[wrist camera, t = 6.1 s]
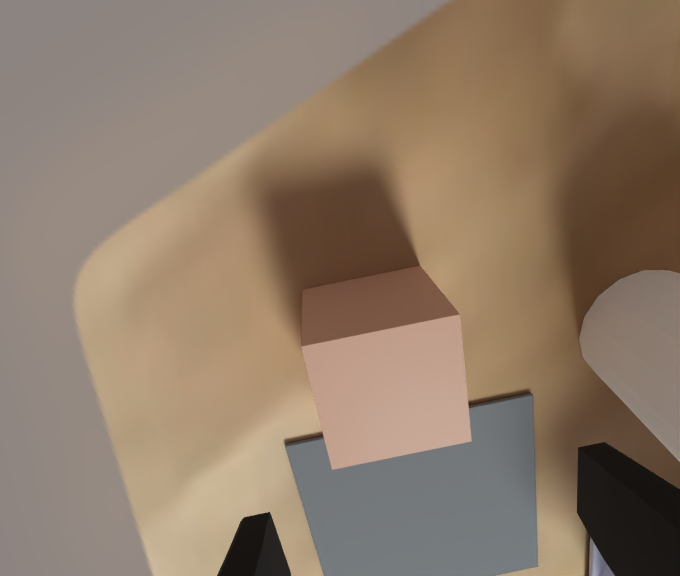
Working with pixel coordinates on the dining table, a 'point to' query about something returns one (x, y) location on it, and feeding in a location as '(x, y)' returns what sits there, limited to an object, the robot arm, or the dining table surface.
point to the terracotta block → (385, 366)
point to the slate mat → (428, 502)
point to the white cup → (640, 348)
